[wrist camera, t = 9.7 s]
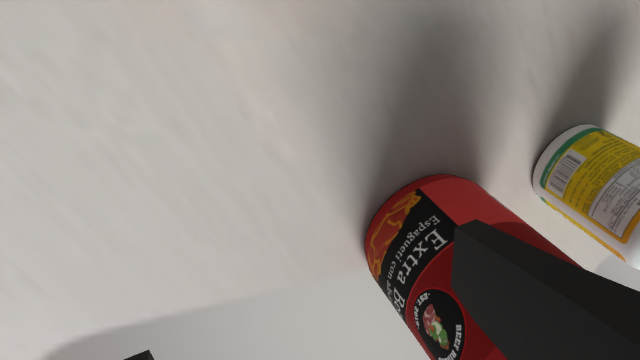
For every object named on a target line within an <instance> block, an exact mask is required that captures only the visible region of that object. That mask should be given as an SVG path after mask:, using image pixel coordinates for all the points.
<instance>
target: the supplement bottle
mask: <svg viewBox="0 0 640 360" xmlns="http://www.w3.org/2000/svg"><path fill="white" fill-rule="evenodd" d="M533 188H534V191H535V193H536V195H537V196H538V197H539V198H540V199H541V200H542V201H543V202H545V203H546V204H547V205H549V206H550V207H551V208H553V209H554V210H555V211H557V212H558V213H559V214H561V215H562V216H564V217H565V218H566V219H568V220H569V221H571V222H572V223H573V224H575V225H576V226H577V227H579V228H580V229H582V230H583V231H584V232H586V233H587V234H588V235H590V236H591V237H592V238H594V239H595V240H597V241H598V242H599V243H600V244H602V245H603V246H604V247H606V248H607V249H608V250H610V251H611V252H613V253H614V254H615V255H617V256H618V257H619V258H621V259H622V260H623V261H625V262H626V263H628V264H629V265H631V266H632V267H634V268H636V269H638V270H640V147H638V146H636V145H634V144H632V143H630V142H628V141H626V140H624V139H622V138H620V137H618V136H616V135H614V134H612V133H610V132H608V131H605V130H603V129H601V128H599V127H597V126H594V125H589V124H588V125H578V126H575V127H573V128H571V129H569V130H567V131H565V132H563V133H562V134H561V135H559V136H558V137H557V138H556V139H555V140H553V141H552V142H551V143H550V144H549V146H548V147H547V148H546V149H545V151H544V152H543V153H542V155H541V157H540V158H539V160H538V162H537V164H536V167H535V170H534V173H533Z"/></svg>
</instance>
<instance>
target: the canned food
mask: <svg viewBox="0 0 640 360" xmlns="http://www.w3.org/2000/svg"><path fill="white" fill-rule="evenodd" d="M475 219H478V220H480V221H482V222H484V223H487V224H489V225H491V226H493V227H495V228H497V229H499V230H501V231H503V232H506V233H508V234H510V235H512V236H514V237H516V238H518V239H520V240H522V241H524V242H526V243H528V244H531V245H533V246H535V247H537V248H539V249H541V250H543V251H545V252H547V253H550V254H552V255H554V256H556V257H558V258H560V259H563V260H565V261H567V262H569V263H571V264H574V265H576V266H578V267H580V268H582V267H581V266H580V265H578V264H577V263H576V262H575V261H573V260H572V259H571V258H570V257H568V256H567V255H566V254H565V253H563V252H562V251H561V250H560V249H558V248H557V247H556V246H555V245H553V244H552V243H551V242H549V241H548V240H547V239H546V238H544V237H543V236H542V235H541V234H539V233H538V232H537V231H536V230H534V229H533V228H532V227H531V226H529V225H528V224H527V223H526V222H524V221H523V220H522V219H520V218H519V217H518V216H517V215H515V214H514V213H513V212H512V211H510V210H509V209H508V208H507V207H505V206H504V205H503V204H502V203H500V202H499V201H498V200H497V199H495V198H494V197H493V196H491V195H490V194H489V193H488V192H486V191H485V190H484V189H483V188H481V187H480V186H479V185H477V184H475V183H473V182H472V181H470V180H467V179H464V178H461V177H458V176H453V175H433V176H428V177H425V178H422V179H420V180H417V181H414V182H412V183H411V184H409V185H407V186H405V187H404V188H402V189H401V190H399V191H398V192H397V193H396V194H394V195H393V196H392V197H391V198H390V199H389V200H388V201H387V202H386V203H385V204H384V205H383V206H382V207H381V208H380V210H379V211H378V213H377V214H376V215H375V217H374V219H373V221H372V223H371V225H370V227H369V229H368V232H367V236H366V239H365V253H366V259H367V262H368V266H369V270H370V272H371V274H372V276H373V278H374V279H375V281H376V282H377V283H378V285H379V286H380V288H381V289H382V291H383V292H384V293H385V295H386V296H387V297H388V299H389V300H390V301H391V303H392V305H393V306H394V308H395V309H396V310H397V312H398V313H399V315H400V316H401V318H402V319H403V320H404V322H405V323H406V325H407V326H408V328H409V329H410V330H411V332H412V333H413V335H414V336H415V338H416V339H417V340H418V342H419V343H420V345H421V346H422V347H423V349H424V350H425V352H426V353H427V355H428V356H429V358H430V359H431V360H508V359H507V358H506V357H505V356H504V355H503V354H502V352H501V351H500V350H499V349H498V348H497V347H496V346H495V344H494V343H493V342H492V341H491V340H490V339H489V338H488V336H487V335H486V334H485V333H484V332H483V331H482V329H481V328H480V327H479V326H478V325H477V324H476V322H475V321H474V320H473V318H472V317H471V315H470V314H469V313H468V311H467V310H466V308H465V307H464V306H463V304H462V303H461V301H460V299H459V298H458V296H457V295H456V293H455V292H454V290H453V289H452V287H451V274H452V260H453V246H454V232H455V227H457V226H460V225H462V224H465V223H467V222H470V221H472V220H475ZM583 269H584V268H583Z"/></svg>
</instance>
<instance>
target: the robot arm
mask: <svg viewBox="0 0 640 360" xmlns="http://www.w3.org/2000/svg"><path fill="white" fill-rule="evenodd" d="M451 287H452V289H453V290H454V292H455V293H456V295H457V296H458V298H459V299H460V301H461V303H462V304H463V306H464V307H465V308H466V310H467V311H468V313H469V314H470V315H471V317H472V318H473V320H474V321H475V322H476V324H477V325H478V326H479V327H480V328H481V329H482V331H483V332H484V333H485V334H486V335H487V336H488V338H489V339H490V340H491V341H492V342H493V343H494V344H495V346H496V347H497V348H498V349H499V350H500V351H501V352H502V354H503V355H504V356H505V357H506V358H507V359H508V360H640V292H639V291H636V290H634V289H631V288H629V287H626V286H624V285H621V284H619V283H616V282H614V281H611V280H609V279H606V278H604V277H602V276H599V275H597V274H594V273H592V272H590V271H587V270H585V269H583V268H580V267H578V266H576V265H574V264H571V263H569V262H567V261H565V260H563V259H560V258H558V257H556V256H554V255H552V254H550V253H547V252H545V251H543V250H541V249H539V248H537V247H535V246H533V245H531V244H528V243H526V242H524V241H522V240H520V239H518V238H516V237H514V236H512V235H510V234H508V233H506V232H503V231H501V230H499V229H497V228H495V227H493V226H491V225H489V224H487V223H484V222H482V221H480V220H478V219H475V220H472V221H470V222H467V223H465V224H462V225H460V226H457V227H455V232H454V246H453V260H452V274H451ZM124 360H154V358H153V357H152V355H151V353H150V351H149V350H147V351H144V352H142V353H139V354H137V355H134V356H132V357H129V358H127V359H124Z"/></svg>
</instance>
